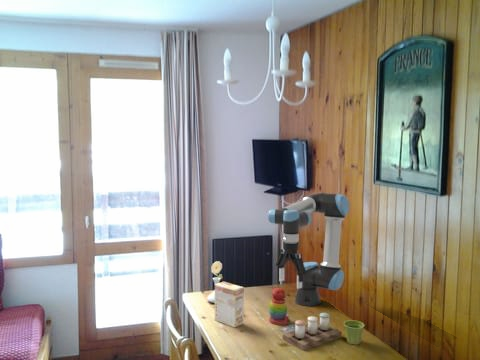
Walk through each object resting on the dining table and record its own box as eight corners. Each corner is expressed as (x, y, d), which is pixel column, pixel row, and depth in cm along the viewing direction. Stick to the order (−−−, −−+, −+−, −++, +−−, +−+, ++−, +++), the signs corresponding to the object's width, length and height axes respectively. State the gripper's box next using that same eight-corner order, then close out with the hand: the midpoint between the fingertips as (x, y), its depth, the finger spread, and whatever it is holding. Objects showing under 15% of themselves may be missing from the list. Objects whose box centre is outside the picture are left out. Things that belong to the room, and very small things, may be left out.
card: (299, 323, 231) (299, 322, 231) (307, 327, 226) (307, 325, 226) (278, 329, 223) (278, 328, 223) (286, 333, 218) (286, 332, 218)
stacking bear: (287, 326, 227) (287, 292, 226) (267, 324, 229) (267, 290, 228) (289, 318, 237) (289, 285, 236) (270, 316, 239) (270, 284, 238)
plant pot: (352, 348, 202) (353, 329, 202) (339, 340, 211) (339, 322, 210) (368, 343, 207) (368, 325, 206) (354, 336, 215) (354, 318, 214)
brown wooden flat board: (320, 327, 226) (320, 322, 225) (341, 336, 214) (341, 331, 214) (282, 339, 211) (282, 334, 211) (303, 350, 200) (303, 345, 200)
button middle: (312, 329, 216) (312, 315, 215) (319, 332, 212) (319, 318, 211) (305, 331, 213) (305, 317, 213) (312, 335, 209) (312, 320, 209)
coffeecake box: (244, 324, 230) (244, 287, 228) (234, 328, 224) (234, 290, 223) (223, 316, 240) (223, 280, 238) (214, 320, 235) (214, 283, 233)
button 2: (324, 325, 220) (324, 312, 220) (331, 328, 217) (331, 315, 216) (317, 327, 218) (317, 314, 217) (324, 331, 214) (324, 317, 213)
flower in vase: (204, 299, 266) (204, 258, 264) (222, 297, 270) (221, 256, 268) (212, 306, 254) (212, 263, 252) (230, 303, 258) (230, 261, 257)
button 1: (300, 333, 211) (300, 319, 211) (307, 336, 207) (307, 322, 207) (292, 335, 209) (292, 321, 208) (299, 339, 205) (299, 324, 204)
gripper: (269, 238, 225) (269, 279, 227) (301, 247, 204) (301, 292, 206) (281, 236, 229) (280, 276, 231) (314, 245, 208) (313, 289, 210)
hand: (290, 284), depth 219 cm, fingers open, 13 cm apart
